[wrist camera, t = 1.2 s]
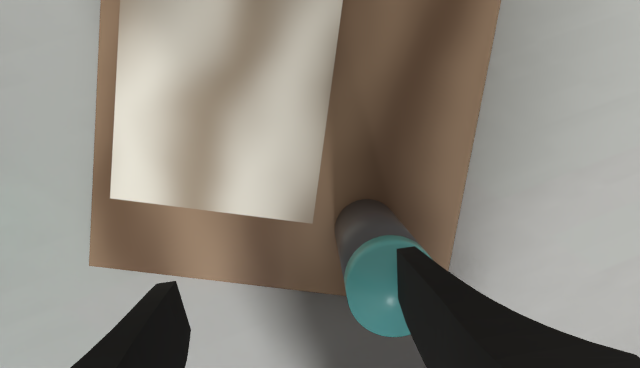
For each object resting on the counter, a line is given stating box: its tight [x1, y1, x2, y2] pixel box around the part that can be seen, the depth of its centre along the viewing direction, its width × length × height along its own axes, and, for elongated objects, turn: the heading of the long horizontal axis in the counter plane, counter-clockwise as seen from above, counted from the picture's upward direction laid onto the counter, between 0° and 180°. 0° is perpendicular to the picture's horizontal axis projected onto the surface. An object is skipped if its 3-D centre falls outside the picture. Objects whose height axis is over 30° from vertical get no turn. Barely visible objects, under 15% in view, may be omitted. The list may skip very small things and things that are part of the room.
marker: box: [335, 199, 433, 337], centre depth 18 cm, size 4×4×8 cm
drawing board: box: [89, 0, 501, 296], centre depth 22 cm, size 20×18×1 cm
